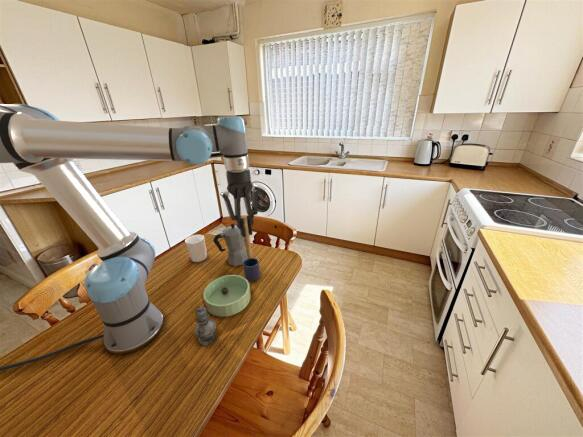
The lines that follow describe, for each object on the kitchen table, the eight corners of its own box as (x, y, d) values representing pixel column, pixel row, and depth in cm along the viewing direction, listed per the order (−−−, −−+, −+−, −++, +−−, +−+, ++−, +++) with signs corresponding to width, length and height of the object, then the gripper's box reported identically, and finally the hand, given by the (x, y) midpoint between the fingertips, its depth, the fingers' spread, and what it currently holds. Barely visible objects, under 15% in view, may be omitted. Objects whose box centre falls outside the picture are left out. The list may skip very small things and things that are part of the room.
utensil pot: (248, 284, 90) (246, 269, 87) (242, 275, 95) (240, 261, 92) (262, 278, 93) (261, 263, 90) (256, 270, 98) (254, 256, 95)
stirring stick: (248, 257, 88) (242, 218, 81) (246, 255, 89) (240, 216, 82) (253, 255, 89) (248, 216, 82) (251, 253, 90) (245, 215, 83)
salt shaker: (211, 347, 67) (203, 316, 62) (193, 344, 68) (183, 313, 63) (221, 330, 72) (214, 299, 67) (203, 327, 73) (195, 297, 68)
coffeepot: (246, 250, 112) (241, 215, 104) (256, 259, 105) (252, 222, 97) (214, 263, 103) (207, 226, 95) (223, 274, 96) (216, 235, 89)
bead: (221, 296, 85) (221, 293, 83) (220, 289, 86) (220, 287, 84) (228, 294, 86) (228, 291, 84) (227, 287, 87) (227, 285, 85)
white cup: (212, 256, 108) (208, 237, 104) (197, 265, 102) (192, 245, 98) (200, 251, 112) (196, 232, 108) (186, 260, 106) (181, 240, 102)
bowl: (212, 325, 74) (209, 313, 71) (201, 295, 85) (198, 284, 83) (257, 304, 81) (256, 293, 78) (241, 280, 92) (240, 269, 90)
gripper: (217, 175, 69) (229, 245, 79) (264, 167, 76) (270, 232, 86) (210, 171, 75) (223, 236, 85) (254, 164, 82) (261, 225, 92)
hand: (246, 234), depth 85 cm, fingers closed on stirring stick, 2 cm apart
